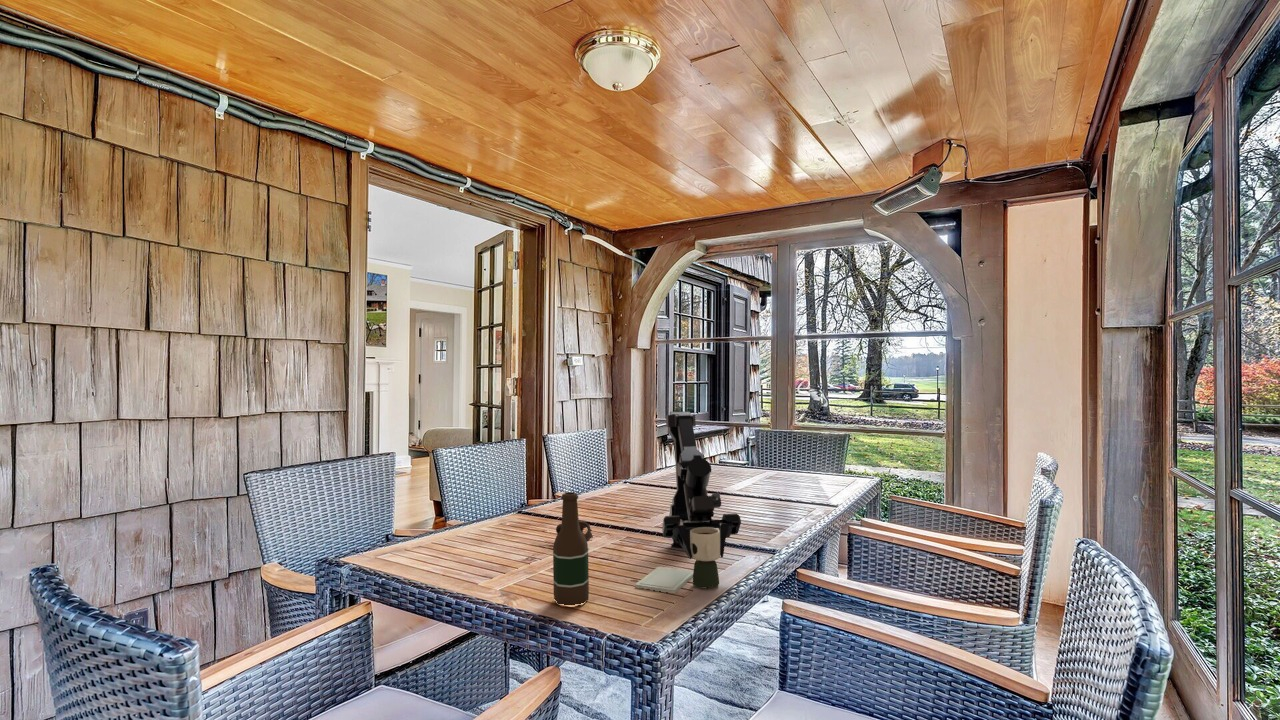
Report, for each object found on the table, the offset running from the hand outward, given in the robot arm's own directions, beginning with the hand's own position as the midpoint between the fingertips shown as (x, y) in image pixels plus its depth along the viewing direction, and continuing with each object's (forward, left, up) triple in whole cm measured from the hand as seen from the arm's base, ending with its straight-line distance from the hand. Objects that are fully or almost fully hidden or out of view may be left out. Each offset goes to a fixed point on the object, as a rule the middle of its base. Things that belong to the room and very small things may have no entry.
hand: (706, 557), depth 139 cm
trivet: (-11, +1, -7) cm, 13 cm away
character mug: (-1, +1, -7) cm, 7 cm away
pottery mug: (-48, +19, -7) cm, 52 cm away
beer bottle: (-25, -19, -7) cm, 33 cm away
